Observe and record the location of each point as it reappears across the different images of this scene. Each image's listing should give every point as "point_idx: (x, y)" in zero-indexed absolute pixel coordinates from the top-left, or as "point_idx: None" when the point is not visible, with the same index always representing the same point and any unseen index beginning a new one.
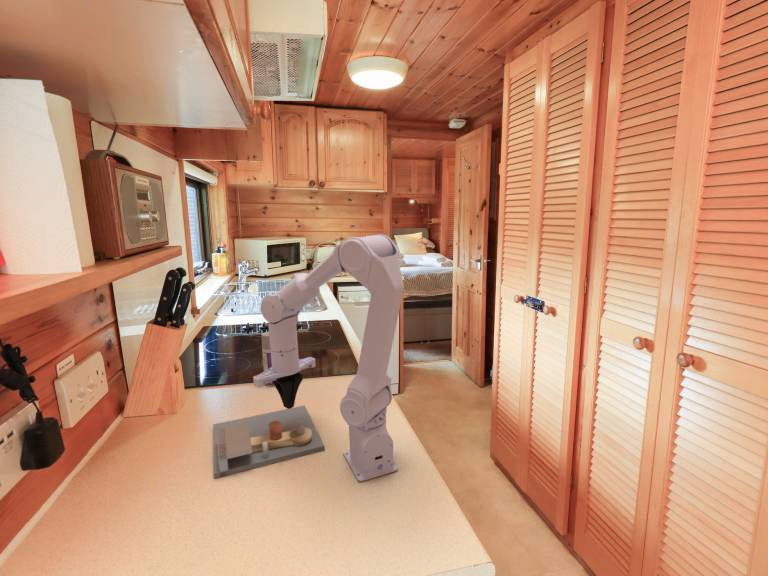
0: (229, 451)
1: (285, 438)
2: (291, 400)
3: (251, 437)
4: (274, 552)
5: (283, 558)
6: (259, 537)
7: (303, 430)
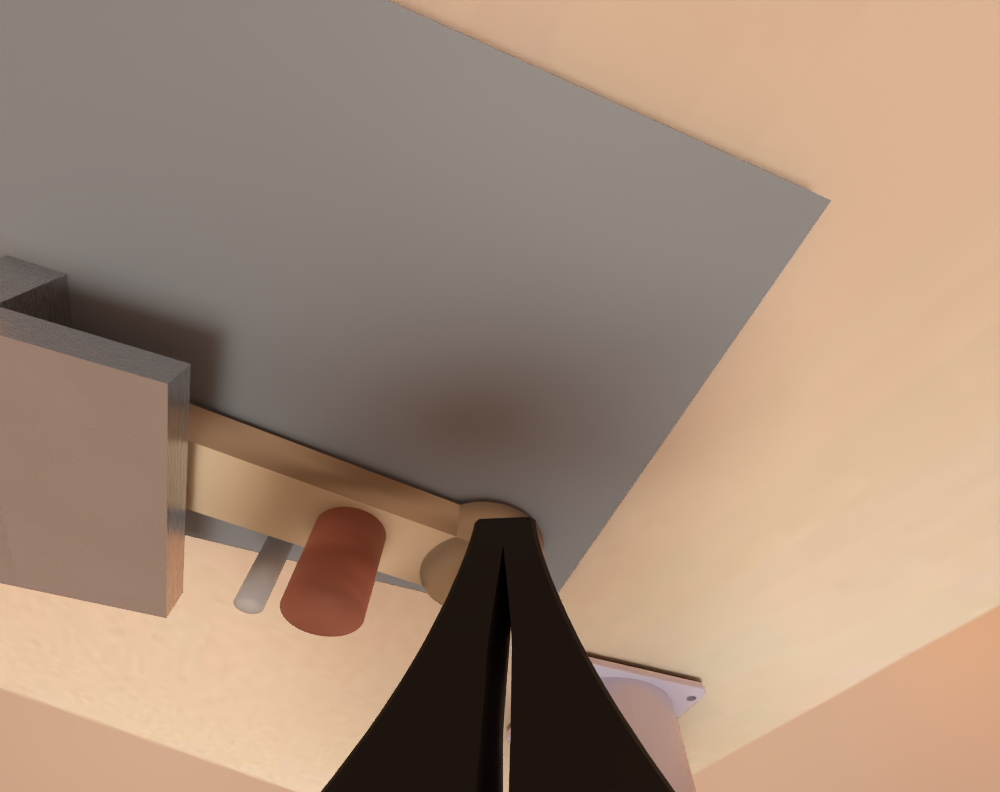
0: (35, 576)
1: (391, 566)
2: (506, 660)
3: (249, 341)
4: (219, 744)
5: (234, 757)
6: (193, 712)
7: None
